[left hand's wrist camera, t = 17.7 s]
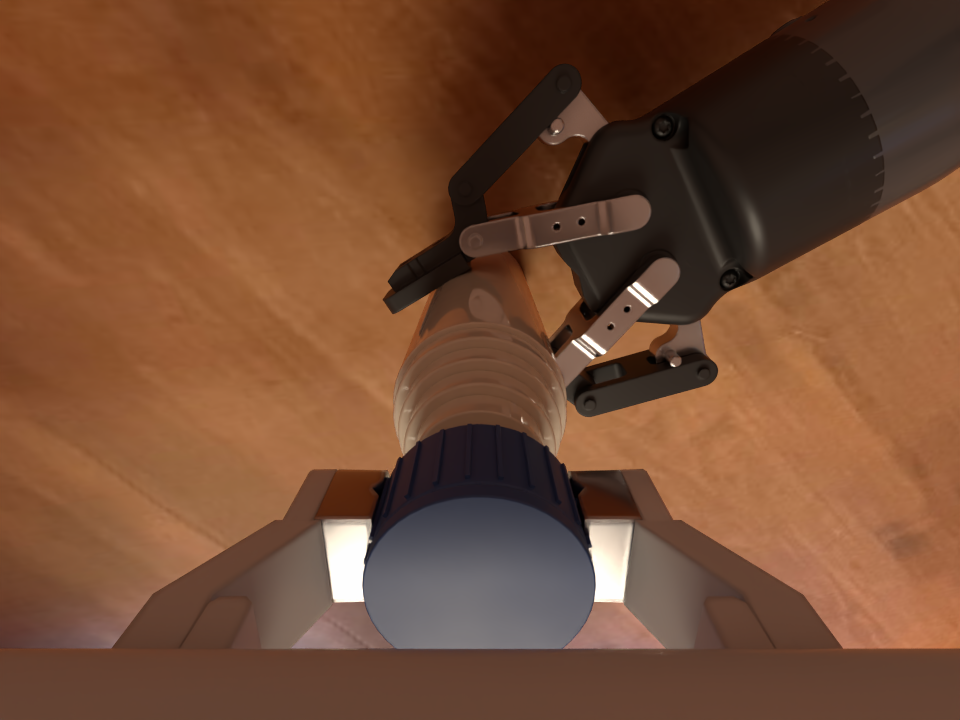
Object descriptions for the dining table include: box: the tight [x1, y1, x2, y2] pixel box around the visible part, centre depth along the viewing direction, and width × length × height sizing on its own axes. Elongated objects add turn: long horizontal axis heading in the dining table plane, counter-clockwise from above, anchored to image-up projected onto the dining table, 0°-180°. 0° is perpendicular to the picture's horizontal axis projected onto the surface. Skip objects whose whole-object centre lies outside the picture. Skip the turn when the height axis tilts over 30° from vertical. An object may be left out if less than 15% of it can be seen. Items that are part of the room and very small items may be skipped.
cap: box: [362, 424, 596, 649], centre depth 9 cm, size 4×4×2 cm
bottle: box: [393, 252, 567, 457], centre depth 18 cm, size 5×5×21 cm
